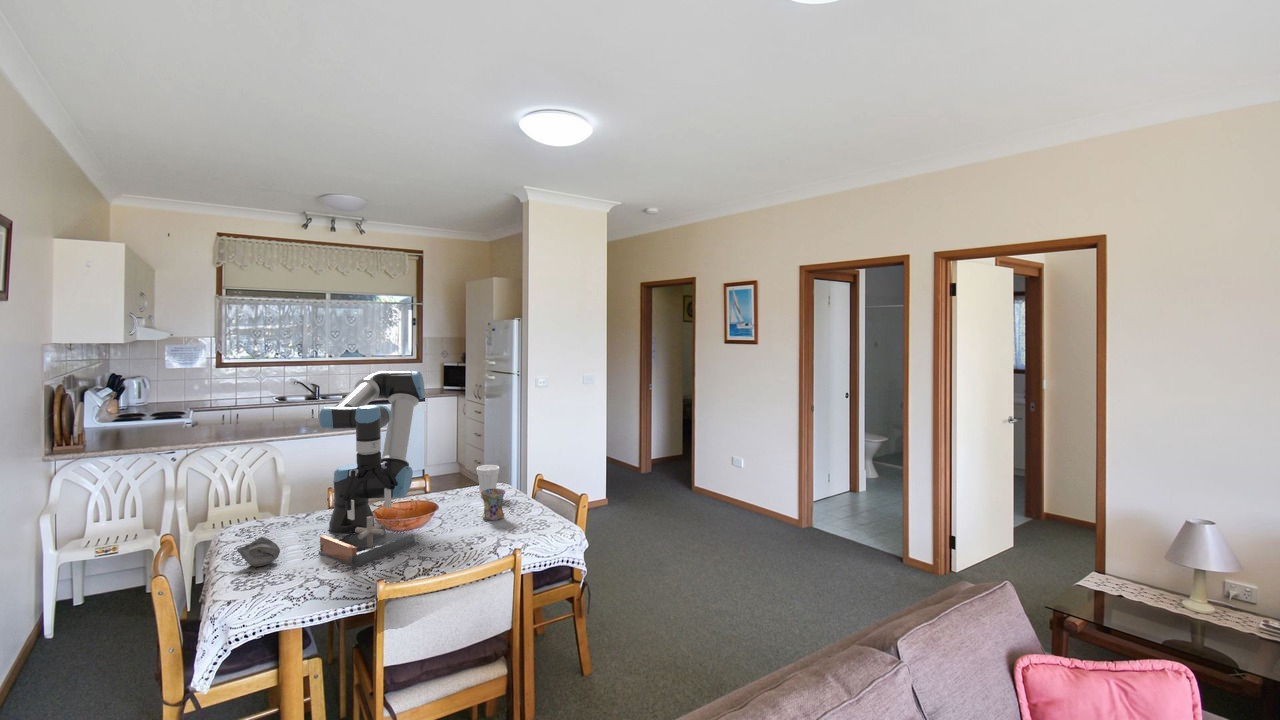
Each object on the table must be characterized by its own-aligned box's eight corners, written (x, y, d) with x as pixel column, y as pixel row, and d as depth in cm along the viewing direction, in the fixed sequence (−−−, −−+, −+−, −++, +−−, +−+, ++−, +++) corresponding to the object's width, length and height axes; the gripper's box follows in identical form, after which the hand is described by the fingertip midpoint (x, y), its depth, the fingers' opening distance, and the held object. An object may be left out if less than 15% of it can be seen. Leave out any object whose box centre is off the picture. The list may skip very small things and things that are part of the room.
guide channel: (383, 531, 215) (383, 515, 215) (419, 543, 205) (418, 527, 204) (318, 553, 195) (318, 535, 195) (354, 568, 185) (353, 549, 184)
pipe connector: (373, 552, 194) (373, 523, 193) (347, 549, 196) (346, 520, 195) (392, 541, 204) (391, 513, 203) (366, 539, 206) (366, 511, 205)
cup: (472, 499, 256) (472, 469, 255) (482, 492, 266) (482, 464, 265) (494, 500, 254) (494, 471, 253) (503, 494, 264) (503, 465, 263)
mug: (509, 518, 232) (509, 492, 231) (487, 523, 226) (487, 496, 225) (495, 510, 241) (495, 485, 240) (474, 515, 235) (474, 489, 235)
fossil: (239, 573, 179) (238, 548, 179) (237, 563, 186) (236, 538, 186) (281, 564, 186) (281, 540, 185) (278, 555, 193) (277, 531, 193)
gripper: (339, 461, 185) (341, 526, 187) (407, 446, 206) (408, 505, 208) (326, 457, 189) (327, 521, 191) (394, 443, 210) (395, 500, 212)
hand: (370, 513), depth 200 cm, fingers open, 13 cm apart
